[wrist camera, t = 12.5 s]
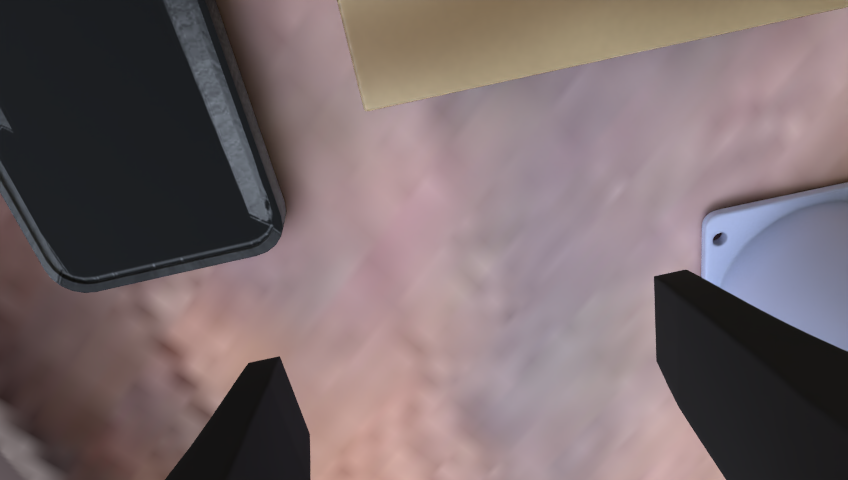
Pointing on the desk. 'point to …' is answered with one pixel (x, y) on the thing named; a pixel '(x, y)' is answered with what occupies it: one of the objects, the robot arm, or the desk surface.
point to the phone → (130, 141)
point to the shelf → (526, 37)
